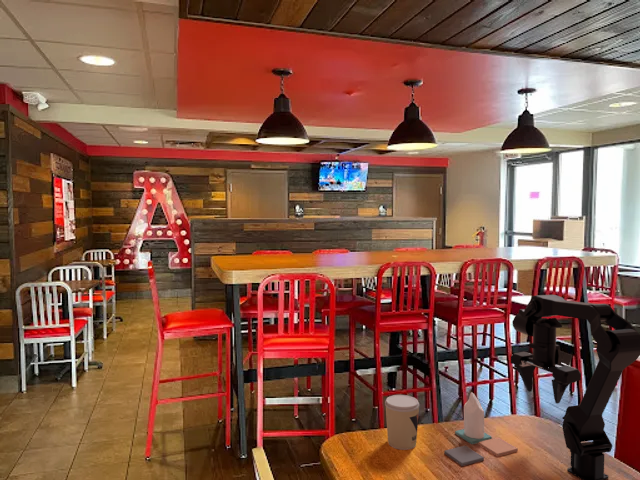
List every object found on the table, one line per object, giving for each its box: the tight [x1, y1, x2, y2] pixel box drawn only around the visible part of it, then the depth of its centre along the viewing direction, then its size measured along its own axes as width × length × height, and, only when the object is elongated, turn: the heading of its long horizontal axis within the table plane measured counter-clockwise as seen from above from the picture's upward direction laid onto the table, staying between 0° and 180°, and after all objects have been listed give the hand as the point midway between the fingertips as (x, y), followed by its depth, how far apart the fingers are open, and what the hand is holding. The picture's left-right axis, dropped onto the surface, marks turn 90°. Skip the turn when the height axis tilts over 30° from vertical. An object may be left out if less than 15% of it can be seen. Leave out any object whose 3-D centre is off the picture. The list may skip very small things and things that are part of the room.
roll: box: [463, 391, 485, 439], centre depth 136 cm, size 6×12×6 cm
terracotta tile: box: [478, 436, 519, 458], centre depth 130 cm, size 7×7×1 cm
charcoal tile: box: [443, 445, 485, 467], centre depth 125 cm, size 7×7×1 cm
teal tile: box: [454, 428, 493, 445], centre depth 136 cm, size 7×7×1 cm
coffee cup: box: [384, 394, 420, 451], centre depth 133 cm, size 9×9×12 cm
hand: (543, 397), depth 131 cm, fingers open, 9 cm apart
